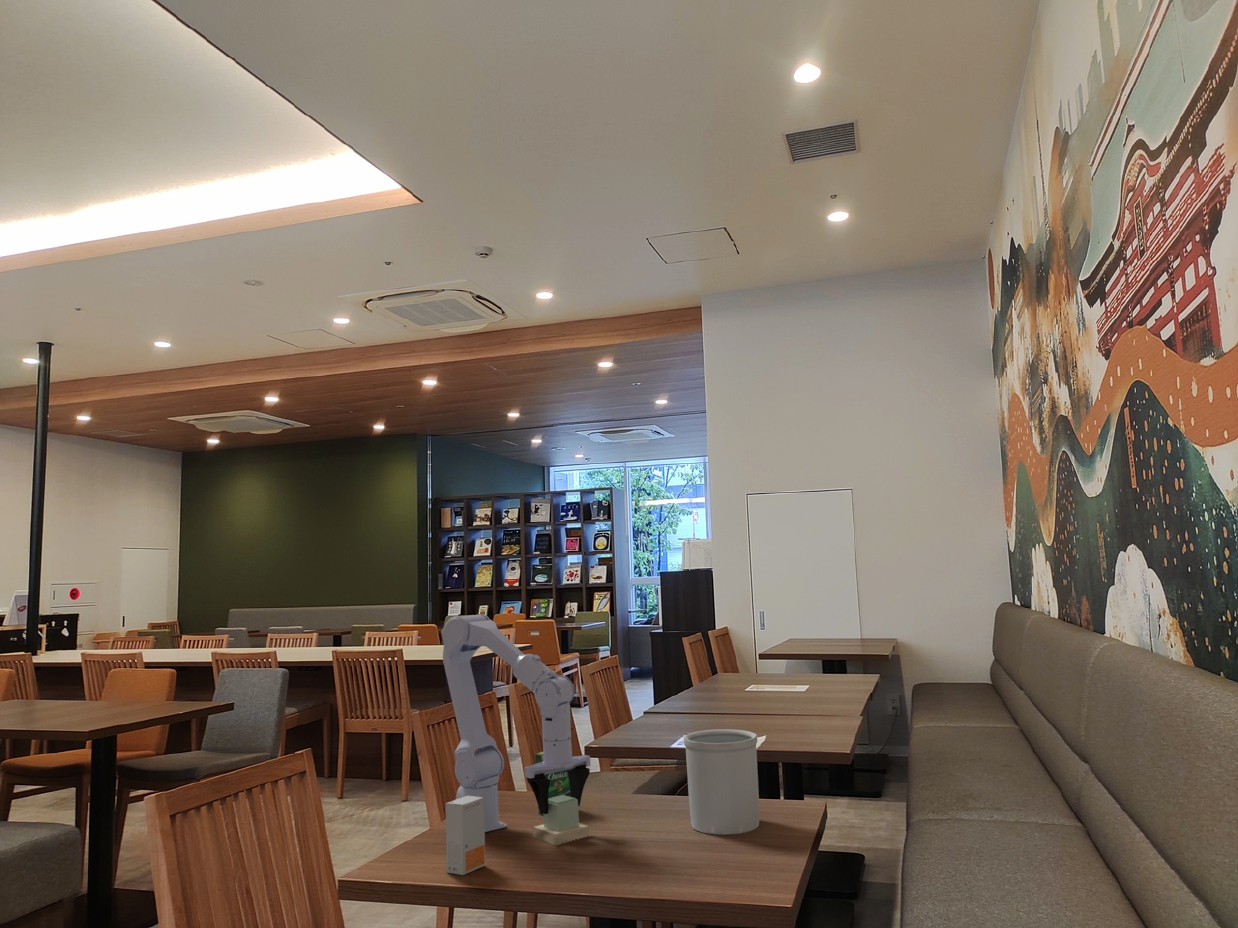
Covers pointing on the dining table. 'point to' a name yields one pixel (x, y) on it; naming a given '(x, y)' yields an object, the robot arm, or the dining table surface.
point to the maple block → (560, 834)
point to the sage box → (562, 813)
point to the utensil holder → (722, 781)
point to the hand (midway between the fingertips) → (560, 809)
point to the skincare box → (465, 835)
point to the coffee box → (555, 781)
